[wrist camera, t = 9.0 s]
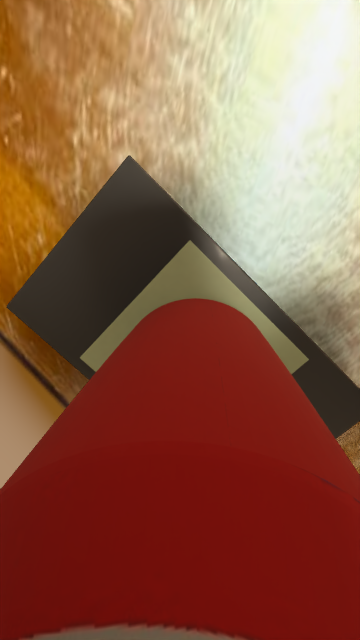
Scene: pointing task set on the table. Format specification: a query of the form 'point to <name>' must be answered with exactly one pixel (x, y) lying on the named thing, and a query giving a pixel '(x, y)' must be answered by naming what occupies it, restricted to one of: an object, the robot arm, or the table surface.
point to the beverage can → (184, 499)
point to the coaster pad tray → (159, 288)
